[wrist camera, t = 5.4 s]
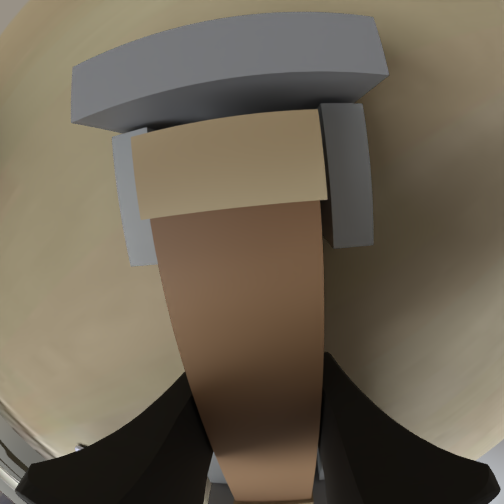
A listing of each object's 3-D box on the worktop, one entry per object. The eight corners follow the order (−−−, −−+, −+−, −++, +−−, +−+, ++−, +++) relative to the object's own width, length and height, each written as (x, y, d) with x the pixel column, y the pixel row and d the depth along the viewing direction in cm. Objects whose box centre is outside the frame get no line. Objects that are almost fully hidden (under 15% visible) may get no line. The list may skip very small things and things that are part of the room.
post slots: (331, 453, 14) (340, 513, 9) (223, 459, 15) (213, 518, 10) (330, 79, 9) (372, 16, 4) (147, 103, 9) (72, 67, 5)
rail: (305, 437, 13) (311, 512, 8) (246, 440, 13) (238, 514, 8) (292, 142, 9) (317, 109, 4) (197, 154, 10) (130, 137, 5)
